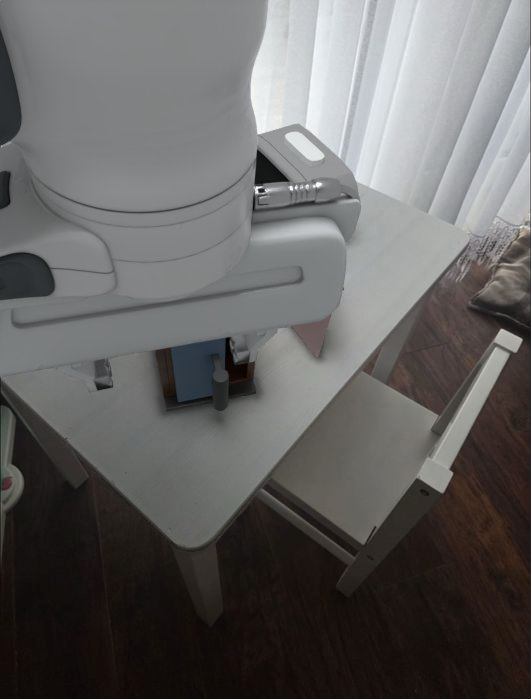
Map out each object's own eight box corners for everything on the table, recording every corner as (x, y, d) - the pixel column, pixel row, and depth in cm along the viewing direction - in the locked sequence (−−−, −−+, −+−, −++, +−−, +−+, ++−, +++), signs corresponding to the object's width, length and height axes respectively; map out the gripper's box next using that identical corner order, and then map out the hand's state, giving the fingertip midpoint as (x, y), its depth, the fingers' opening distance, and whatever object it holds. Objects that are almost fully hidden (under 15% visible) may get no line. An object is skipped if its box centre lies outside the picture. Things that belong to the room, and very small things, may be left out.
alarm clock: (237, 189, 89) (240, 119, 78) (280, 175, 92) (288, 106, 81) (302, 262, 80) (315, 194, 69) (347, 243, 83) (367, 175, 72)
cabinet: (256, 393, 65) (265, 325, 53) (166, 411, 63) (154, 344, 51) (232, 313, 73) (235, 237, 60) (150, 327, 70) (136, 250, 58)
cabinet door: (231, 419, 62) (233, 366, 51) (183, 429, 61) (177, 377, 50) (222, 386, 64) (223, 329, 54) (176, 395, 63) (169, 339, 53)
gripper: (346, 137, 25) (305, 307, 37) (-99, 176, 21) (12, 356, 32) (396, 218, 22) (334, 377, 33) (-120, 286, 17) (12, 443, 29)
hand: (174, 367), depth 33 cm, fingers open, 8 cm apart
